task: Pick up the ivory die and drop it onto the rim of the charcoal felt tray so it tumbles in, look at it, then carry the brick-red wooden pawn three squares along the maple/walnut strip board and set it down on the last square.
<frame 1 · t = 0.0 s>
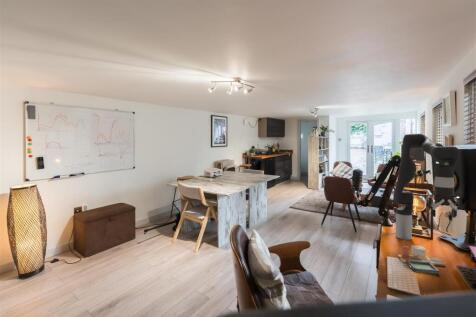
hand: (443, 216, 117), 29 cm above the table, fingers open, 8 cm apart
pawn: (405, 257, 132), point 1 cm above the table, touching board
die: (418, 255, 136), on the table
tray: (422, 268, 123), on the table
board: (420, 260, 130), on the table
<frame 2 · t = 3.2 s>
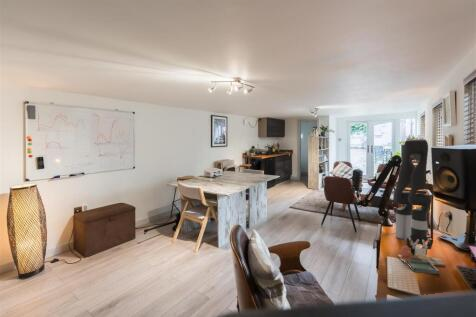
hand: (418, 254, 136), 0 cm above the table, fingers closed on die, 5 cm apart
die: (418, 255, 136), on the table, touching gripper
everything else where it was.
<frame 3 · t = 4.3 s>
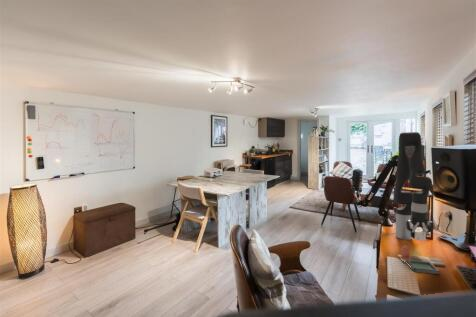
hand: (418, 237, 136), 11 cm above the table, fingers closed on die, 5 cm apart
die: (418, 238, 136), point 10 cm above the table, touching gripper
everything else where it was.
when the fingers open (12 cm above the table, at t = 5.8 s): die drops 11 cm, resting on tray.
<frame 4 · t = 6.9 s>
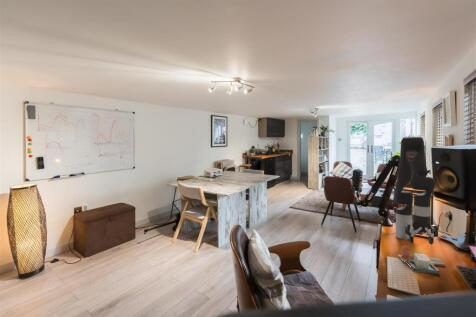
hand: (421, 243, 124), 13 cm above the table, fingers open, 8 cm apart
die: (420, 264, 124), point 1 cm above the table, tilted 15°, touching tray
everything else where it was.
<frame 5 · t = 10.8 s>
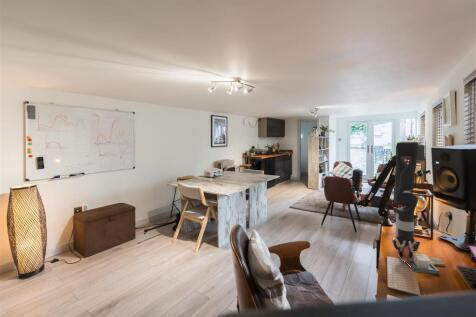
hand: (405, 257, 132), 2 cm above the table, fingers closed on pawn, 4 cm apart
pawn: (405, 257, 132), point 1 cm above the table, touching board, gripper
everything else where it was.
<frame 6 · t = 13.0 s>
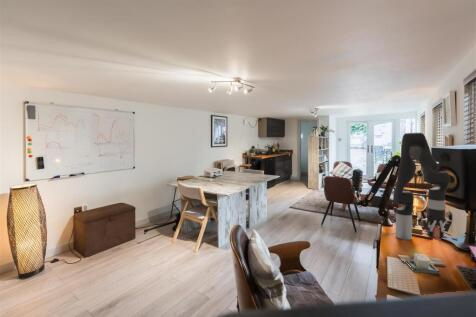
hand: (435, 237, 128), 14 cm above the table, fingers closed on pawn, 4 cm apart
pawn: (435, 238, 128), point 14 cm above the table, touching gripper
everything else where it was.
when the fingers open (3 cm above the table, at t = 15.5 s): pawn stays where it is, resting on board.
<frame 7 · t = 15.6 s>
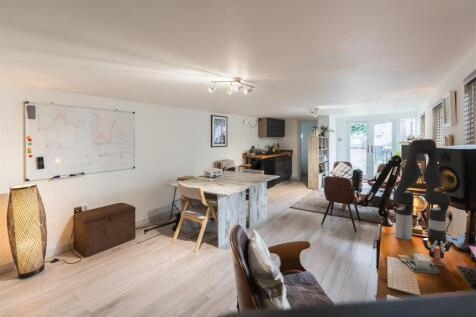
hand: (436, 257, 128), 3 cm above the table, fingers open, 3 cm apart
pawn: (436, 260, 128), point 1 cm above the table, touching board
everything else where it was.
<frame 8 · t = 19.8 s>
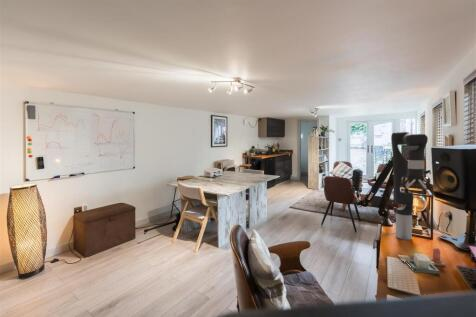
hand: (415, 194, 137), 36 cm above the table, fingers open, 8 cm apart
nothing on the table moved.
at the end: pawn 0.1 cm from the target spot on the board, point 1.0 cm above the board's base; pawn tilted 0°; die inside the target area on the tray (1.5 cm from its centre), point 1.2 cm above the tray's base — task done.
